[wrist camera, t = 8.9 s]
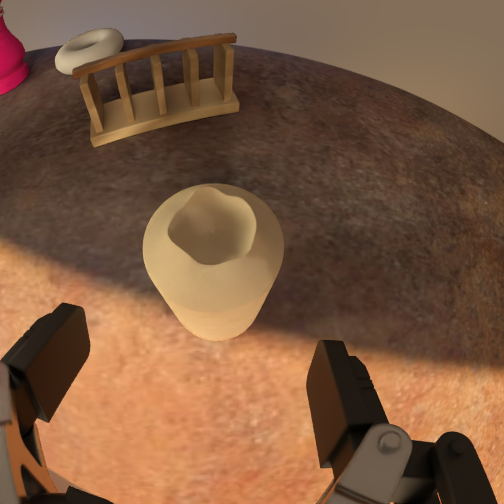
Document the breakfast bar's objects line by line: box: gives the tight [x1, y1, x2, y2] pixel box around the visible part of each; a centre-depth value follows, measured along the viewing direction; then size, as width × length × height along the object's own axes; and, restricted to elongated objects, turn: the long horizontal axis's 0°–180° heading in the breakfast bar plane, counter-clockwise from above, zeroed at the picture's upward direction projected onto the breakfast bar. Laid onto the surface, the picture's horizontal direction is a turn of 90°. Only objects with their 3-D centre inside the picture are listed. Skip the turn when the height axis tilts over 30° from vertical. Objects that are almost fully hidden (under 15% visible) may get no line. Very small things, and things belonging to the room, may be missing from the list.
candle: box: [143, 183, 284, 341], centre depth 15 cm, size 6×6×10 cm
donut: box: [55, 28, 124, 75], centre depth 29 cm, size 10×4×10 cm
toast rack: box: [72, 33, 239, 147], centre depth 23 cm, size 14×5×8 cm, turn 110°
